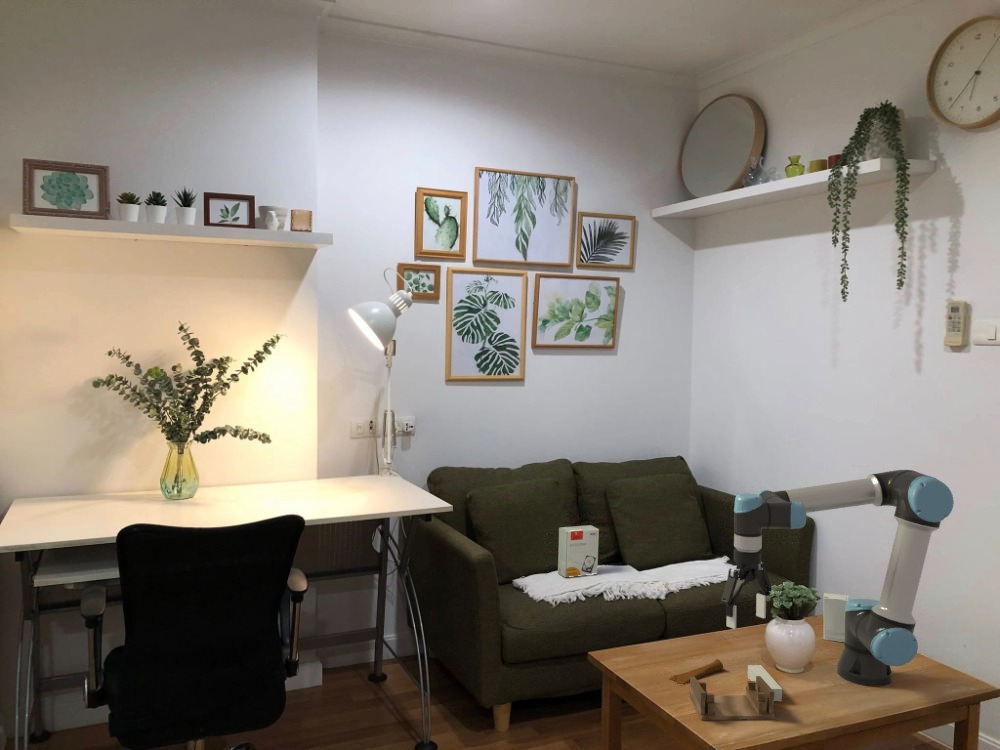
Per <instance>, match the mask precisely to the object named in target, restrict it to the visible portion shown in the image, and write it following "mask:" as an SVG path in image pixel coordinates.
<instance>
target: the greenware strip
mask: <svg viewBox="0 0 1000 750" xmlns="http://www.w3.org/2000/svg"><path fill="white" fill-rule="evenodd" d="M756 676H761V677H762V679H763V680H764V681H765V682H766V683H767V684H768V685H769V687H770V688H771V689H772V690H773V691H774V701H783V700H782V699H783V698H782V697H783V688H782V686H780V684H778V683H777V681H776V680H775V679H774V678H773V677H772V676H771V674H769V672H768V671H767V670H766V669H765V667H763V665H761V664H753V665H752V664H748V665H747V679H748V680H749V679H750V680H751V681H755V682H756ZM750 680H749V681H750Z"/></svg>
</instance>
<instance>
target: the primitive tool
mask: <svg viewBox="0 0 1000 750" xmlns="http://www.w3.org/2000/svg"><path fill="white" fill-rule="evenodd" d="M721 670H722V671H723V670H724V665H723V663H722V661H721V660H720V659H718V658H717V659H715V660H714V661H713V662H711V663H708V664H706V665H704V666H701V667H698V668H696V669H692V670H689V671H686V672H682V673H679V674H674V675H671V676H670V677H668V680H669V681H670V680H672V681H674V682H676V683H677V685H678V684H684V685H686V684H685V683H687V684H689V683H690V677H695V678H696V680H698V679H701V678H703V677H705V676H707V675H709V674H712V673H715V672H716V671H719V672H722V671H721ZM702 676H703V677H702ZM697 678H698V679H697ZM672 681H671V682H672ZM674 682H673V683H674ZM688 682H689V683H688ZM676 683H675V684H676Z"/></svg>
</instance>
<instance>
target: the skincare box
mask: <svg viewBox="0 0 1000 750" xmlns="http://www.w3.org/2000/svg"><path fill="white" fill-rule="evenodd" d="M822 599H823V600H822V601H823V606H822V609H823V610H822V611H823V612H822V613H823V619H822V621H823V631H822V632H823V633H822V634H823V640H824V641H833V642H838V643H839V642H840V643H844V641H845V609H846V603H847V601H849V600H850V595H848V594H842V593H841V594H840V593H839V594H838V593H828V592H823V598H822Z"/></svg>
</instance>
